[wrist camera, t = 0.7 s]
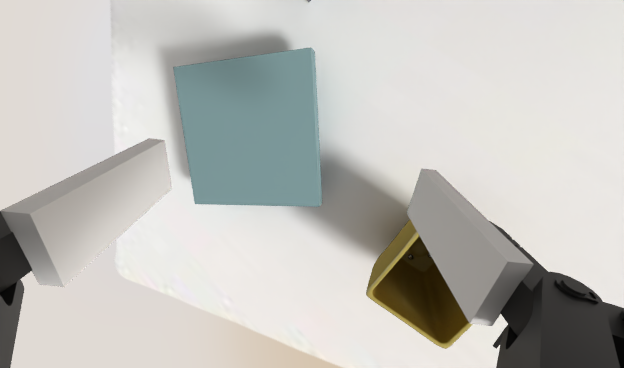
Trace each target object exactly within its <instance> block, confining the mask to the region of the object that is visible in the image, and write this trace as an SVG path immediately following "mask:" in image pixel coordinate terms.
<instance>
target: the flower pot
mask: <svg viewBox="0 0 624 368" xmlns="http://www.w3.org/2000/svg"><path fill="white" fill-rule="evenodd" d="M428 254H429V251H428V250H427V248H426V246H425V244H424V243H423V241H422V239H421V237H420V236H419V234H418V232H417V230H416V229H415V227H414V225H413V223H412V222H411V220H409V221H408V222H407V224H406V225H405V226H404V227H403V229H402V230H401V231H400V232H399V234H398V235H397V236H396V237H395V239H394V240H393V241H392V242H391V243H390V245H389V246H388V247H387V248H386V249H385V251H384V252H383V253H382V254H381V255H380V256H379V258H378V259H377V261H376V262H375V264H374V266H373V269H372V273H371V276H370V280H369V284H368V287H367V291H366V295H367V296H368V297H369V298H370V299H371V300H373V301H374V302H375V303H377V304H378V305H380V306H381V307H383V308H384V309H386V310H387V311H389V312H390V313H392V314H393V315H395V316H396V317H398V318H399V319H400V320H402V321H403V322H405V323H406V324H408V325H409V326H410V327H412V328H413V329H415V330H416V331H417V332H419V333H420V334H422V335H423V336H424V337H426V338H427V339H429V340H430V341H432V342H433V343H434V344H436V345H438V346H440V347H442V348H445V349H447V348H448V347H450V346H451V345H452V344H453V343H454V342H455V341H456V340H457V339H458V338H459V337H460V336H461V335H462V334H463V333H464V332H465V331H467V330H468V329H469V328H470V327H471V326H472V325H473V324H470V323H469V322H468V320H467V318H466V316H465V315H464V313H463V311H462V309H461V308H460V306H459V304H458V302H457V301H456V299H455V297H454V295H453V294H452V292H451V290H450V288H449V287H448V285H447V283H446V281H445V279H444V278H443V276H442V274H441V272H440V271H439V269H438V267H437V265H436V264H435V262H434V260H433V258H432V257H429V256H428ZM409 255H413V258H412V259H410V258H408V256H409Z"/></svg>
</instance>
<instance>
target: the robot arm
mask: <svg viewBox="0 0 624 368" xmlns="http://www.w3.org/2000/svg"><path fill="white" fill-rule="evenodd" d="M171 189H172V185H171V178H170V172H169V166H168V159H167V153H166V146H165V140H158V139H147V140H145V141H143V142H141V143H139V144H137V145H135V146H133V147H130V148H128V149H126V150H124V151H122V152H120V153H118V154H116V155H114V156H112V157H110V158H108V159H106V160H104V161H102V162H100V163H98V164H96V165H94V166H92V167H90V168H88V169H85V170H83V171H81V172H79V173H77V174H75V175H73V176H71V177H69V178H67V179H65V180H63V181H61V182H59V183H57V184H55V185H52V186H50V187H48V188H46V189H44V190H42V191H41V192H38V193H36V194H34V195H32V196H30V197H28V198H26V199H24V200H22V201H20V202H18V203H16V204H13V205H12V206H9V207H7V208H5V209H3V210H1V211H0V368H10V365H11V360H12V354H13V349H14V343H15V338H16V332H17V326H18V321H19V315H20V309H21V304H22V299H23V293H24V286H23V283H22V281H21V280H20V279H21V278H22V277H24V276H25V275H26V274H27V273H29V272H30V271H32V272H33V274H34V276H35V278H36V280H37V282H38V283H39V284H40V285H50V286H60V287H65V285H67V284H68V283H69V282H70V281H71V280H72V279H73V278H74V277H75V276H77V275H78V274H79V273H80V272H81V271H82V270H83V269H84V268H85V267H87V266H88V265H89V264H90V263H91V262H92V261H93V260H94V259H95V258H96V257H98V256H99V255H100V254H101V253H102V252H103V251H104V250H105V249H106V248H107V247H108V246H110V244H112V243H113V242H114V241H115V240H116V239H117V238H118V237H120V236H121V235H122V234H123V233H124V232H125V231H126V230H127V229H128V228H129V227H131V226H132V225H133V224H134V223H135V222H136V221H137V220H138V219H139V218H140V217H142V216H143V215H144V214H145V213H146V212H147V211H148V210H149V209H150V208H151V207H153V206H154V205H155V204H156V203H157V202H158V201H159V200H160V199H161V198H162V197H163V196H165V195H166V194H167V193H168V192H169V191H170V190H171ZM407 215H408V216H409V218H410V220H411V222H412V223H413V225H414V227H415V229H416V230H417V232H418V234H419V236H420V237H421V239H422V241H423V243H424V244H425V246H426V248H427V250H428V251H429V253H430V255H431V257H432V258H433V260H434V262H435V264H436V265H437V267H438V269H439V271H440V272H441V274H442V276H443V278H444V279H445V281H446V283H447V285H448V287H449V288H450V290H451V292H452V294H453V295H454V297H455V299H456V301H457V302H458V304H459V306H460V308H461V309H462V311H463V313H464V315H465V316H466V318H467V320H468V322H469V323H470V324H477V325H488V326H492V325H493V324H494V322H495V321H496V319H497V318H498V317H499V315H500V314H502V316H503V317H504V319H505V320H506V321H507V323H508V325H507V326H506V328H505V329H504V331H503V332H502V333H501V335H500V336H499V338H498V339H497V340H496V342H495V343H494V345H493V347H495V348H497V347H498V346H499V345H500V351H499V356H498V361H497V367H496V368H624V308H621V307H618V306H615V305H612V304H608V303H605V302H602V300H601V298H600V297H599V296H598V295H597V294H596V293H595V292H594V291H593V290H591V289H590V288H588V287H587V286H585V285H584V284H582V283H581V282H579V281H577V280H575V279H573V278H571V277H568V276H566V275H563V274H560V273H555V272H548V271H547V270H546V269H545V268H544V267H542V266H541V265H540V264H539V263H538V262H537V261H536V260H535V259H534V258H533V257H532V256H531V255H530V254H529V253H527V252H526V251H525V250H524V249H523V248H522V247H520V245H519V244H518V243H517V242H516V241H515V240H512V238H511V237H510V236H509V235H508V234H507V233H506V232H505V231H504V230H503V229H501V228H500V227H498V226H497V225H495V224H493V223H492V222H490V221H488V220H487V219H486V218H485V217H484V216H483V215H482V214H481V213H480V212H479V211H478V210H477V209H476V208H475V207H474V206H473V205H472V204H471V203H470V202H469V201H467V200H466V199H465V198H464V197H463V196H462V195H461V194H460V193H459V192H458V191H457V190H456V189H455V188H454V187H453V186H452V185H451V184H450V183H449V182H448V181H447V180H446V179H445V178H444V177H442V176H441V175H440V174H439V173H438V172H437V171H436V170H429V169H421V172H420V175H419V178H418V181H417V184H416V187H415V190H414V193H413V196H412V199H411V202H410V205H409V208H408V211H407Z"/></svg>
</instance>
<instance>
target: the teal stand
mask: <svg viewBox="0 0 624 368" xmlns="http://www.w3.org/2000/svg"><path fill="white" fill-rule="evenodd" d="M173 68H174V75H175V81H176V87H177V94H178V100H179V106H180V113H181V119H182V125H183V132H184V138H185V144H186V151H187V157H188V163H189V170H190V176H191V182H192V188H193V195H194V201H195V204H220V205H266V206H312V207H319V206H320V205H321V204H322V190H321V169H320V149H319V129H318V108H317V88H316V68H315V52H314V50H313V49H312V48H304V49H297V50H290V51H283V52H276V53H269V54H262V55H255V56H248V57H241V58H234V59H227V60H220V61H213V62H206V63H199V64H192V65H185V66H178V67H173Z"/></svg>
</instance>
